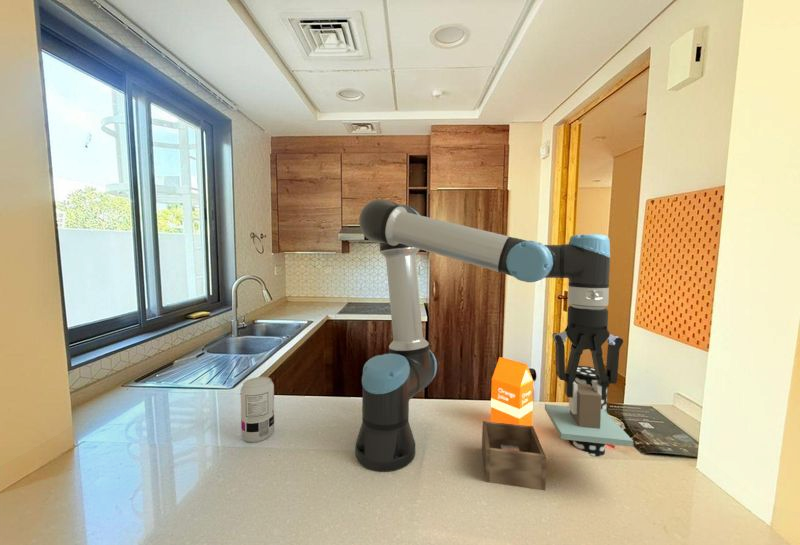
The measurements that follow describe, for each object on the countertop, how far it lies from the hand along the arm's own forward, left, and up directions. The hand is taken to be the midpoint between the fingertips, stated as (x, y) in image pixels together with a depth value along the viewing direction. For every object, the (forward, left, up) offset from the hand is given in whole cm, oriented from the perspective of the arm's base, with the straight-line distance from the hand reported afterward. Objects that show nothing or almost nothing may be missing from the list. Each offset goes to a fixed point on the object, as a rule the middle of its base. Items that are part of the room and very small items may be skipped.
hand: (584, 412), depth 68 cm
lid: (0, 0, -3) cm, 3 cm away
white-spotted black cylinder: (+6, +14, -16) cm, 22 cm away
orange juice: (-12, +19, -16) cm, 28 cm away
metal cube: (-15, 0, -15) cm, 21 cm away
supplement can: (-81, +1, -16) cm, 83 cm away
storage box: (-15, 0, -16) cm, 22 cm away
